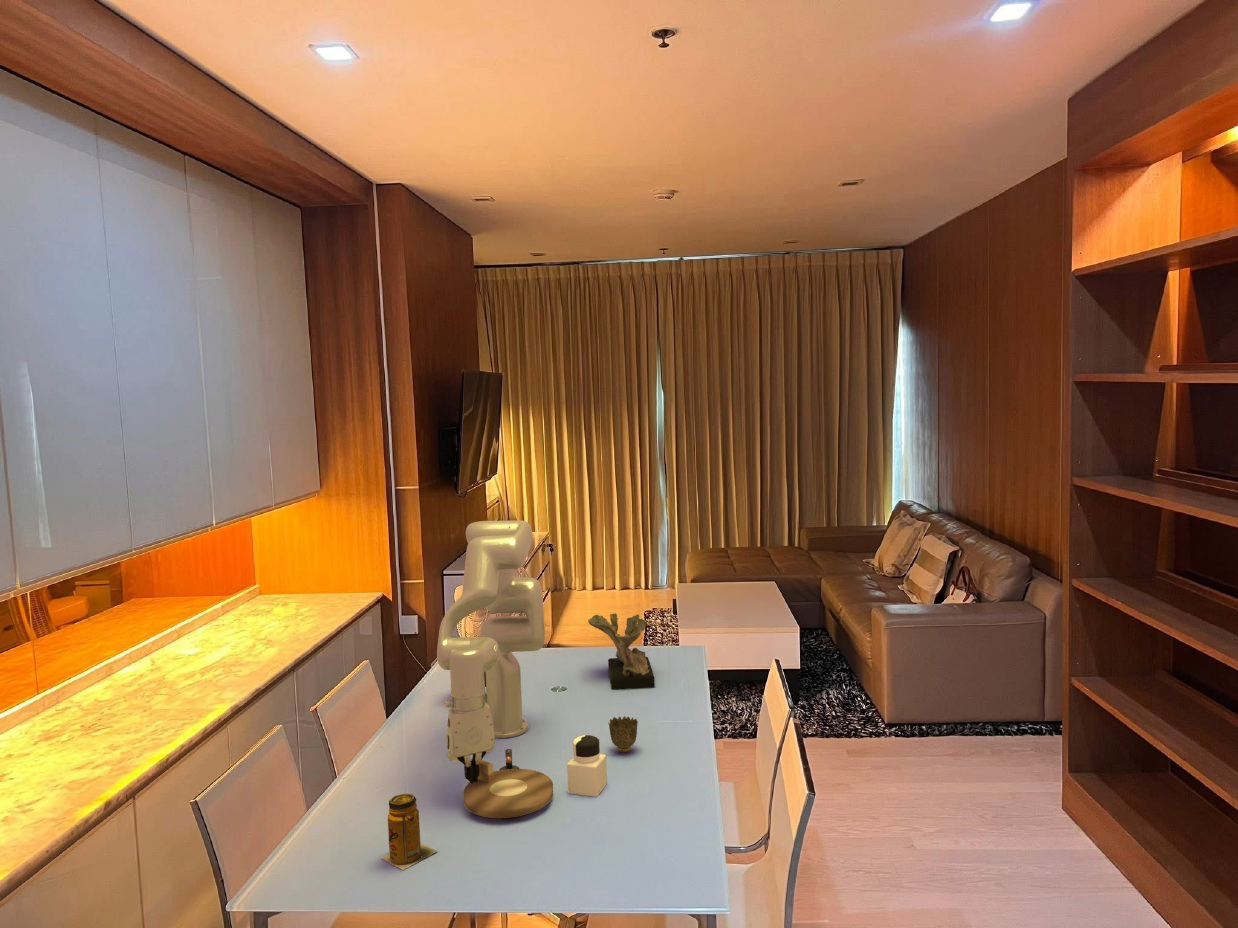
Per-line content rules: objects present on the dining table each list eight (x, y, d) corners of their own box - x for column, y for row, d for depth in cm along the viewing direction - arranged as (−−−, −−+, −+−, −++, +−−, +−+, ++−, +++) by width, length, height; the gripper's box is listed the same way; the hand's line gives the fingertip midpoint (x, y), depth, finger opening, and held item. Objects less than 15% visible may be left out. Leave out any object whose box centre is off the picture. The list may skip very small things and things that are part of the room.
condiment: (380, 858, 166) (377, 800, 166) (416, 841, 173) (413, 784, 172) (402, 870, 162) (399, 810, 161) (438, 852, 168) (435, 794, 167)
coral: (655, 691, 259) (653, 623, 257) (589, 694, 258) (587, 626, 257) (650, 667, 284) (648, 604, 282) (590, 669, 283) (588, 606, 282)
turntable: (571, 790, 190) (570, 765, 190) (508, 827, 175) (507, 799, 174) (509, 769, 203) (508, 745, 202) (444, 801, 187) (443, 775, 187)
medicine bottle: (607, 783, 196) (605, 733, 195) (596, 797, 190) (595, 745, 189) (579, 780, 199) (577, 730, 198) (567, 793, 192) (565, 742, 191)
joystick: (499, 769, 206) (498, 746, 206) (519, 767, 207) (518, 744, 206) (498, 781, 199) (497, 758, 199) (519, 780, 200) (518, 756, 199)
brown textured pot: (635, 758, 210) (634, 727, 209) (606, 756, 212) (605, 725, 211) (640, 746, 217) (639, 716, 217) (613, 744, 219) (612, 715, 218)
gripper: (441, 713, 182) (445, 795, 184) (505, 699, 190) (509, 778, 191) (431, 703, 189) (435, 782, 190) (493, 690, 196) (497, 766, 197)
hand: (472, 780), depth 191 cm, fingers closed
